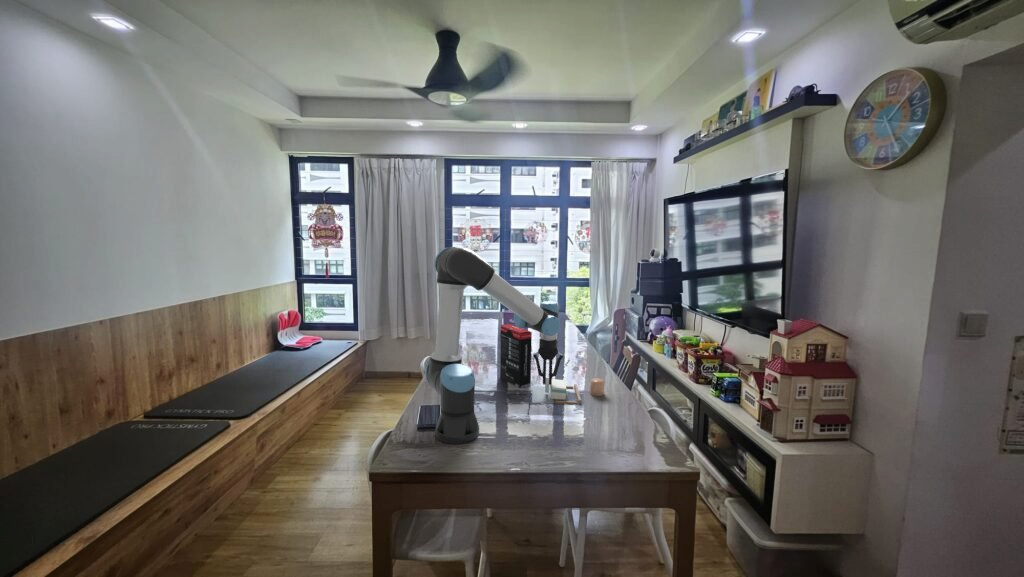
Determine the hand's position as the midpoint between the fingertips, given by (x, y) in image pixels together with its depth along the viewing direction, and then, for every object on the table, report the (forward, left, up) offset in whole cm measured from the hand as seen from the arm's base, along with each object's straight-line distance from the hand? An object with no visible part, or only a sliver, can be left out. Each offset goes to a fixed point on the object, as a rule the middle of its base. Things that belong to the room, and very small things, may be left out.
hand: (546, 391), depth 177 cm
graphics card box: (+14, +14, -3) cm, 20 cm away
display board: (0, -4, -3) cm, 5 cm away
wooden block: (+7, -23, -3) cm, 24 cm away
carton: (0, -5, -1) cm, 5 cm away
